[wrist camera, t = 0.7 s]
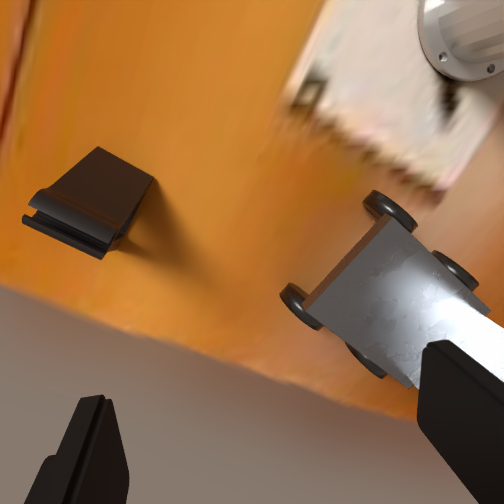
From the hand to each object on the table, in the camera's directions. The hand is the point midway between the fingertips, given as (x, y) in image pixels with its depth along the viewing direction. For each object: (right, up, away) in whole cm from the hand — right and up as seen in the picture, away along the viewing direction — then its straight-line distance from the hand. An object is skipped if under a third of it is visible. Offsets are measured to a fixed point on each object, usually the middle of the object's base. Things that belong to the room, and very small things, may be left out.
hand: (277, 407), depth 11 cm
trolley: (+13, +1, +34) cm, 36 cm away
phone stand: (-16, +10, +27) cm, 33 cm away
